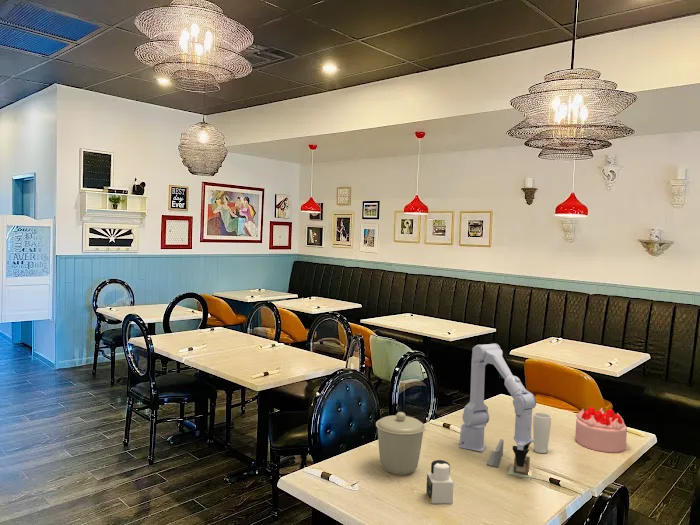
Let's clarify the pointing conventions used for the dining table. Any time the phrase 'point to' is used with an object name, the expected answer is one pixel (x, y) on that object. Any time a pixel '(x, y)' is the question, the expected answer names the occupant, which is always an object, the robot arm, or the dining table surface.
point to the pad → (511, 472)
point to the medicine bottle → (440, 483)
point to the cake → (601, 430)
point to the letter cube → (523, 469)
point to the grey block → (496, 455)
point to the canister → (399, 443)
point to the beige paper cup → (541, 431)
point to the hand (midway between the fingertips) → (521, 462)
